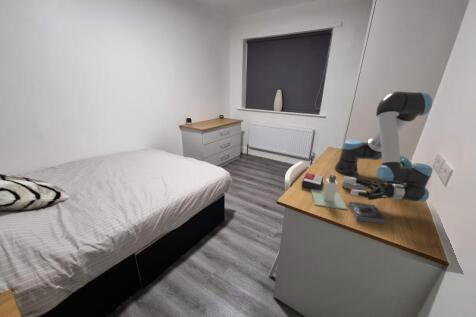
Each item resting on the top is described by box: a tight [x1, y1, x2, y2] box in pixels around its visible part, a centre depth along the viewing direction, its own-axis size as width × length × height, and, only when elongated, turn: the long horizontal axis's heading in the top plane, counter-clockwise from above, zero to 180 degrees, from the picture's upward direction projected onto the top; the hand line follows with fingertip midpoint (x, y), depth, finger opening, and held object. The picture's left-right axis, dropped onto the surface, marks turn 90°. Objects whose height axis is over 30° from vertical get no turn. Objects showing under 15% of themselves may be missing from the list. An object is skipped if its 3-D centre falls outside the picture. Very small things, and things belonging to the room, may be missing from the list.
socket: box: [348, 201, 386, 225], centre depth 99 cm, size 12×12×2 cm
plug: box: [322, 174, 339, 201], centre depth 109 cm, size 5×5×14 cm
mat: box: [310, 188, 348, 210], centre depth 111 cm, size 16×16×1 cm
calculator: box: [301, 172, 324, 190], centre depth 126 cm, size 11×4×15 cm
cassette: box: [341, 175, 366, 191], centre depth 121 cm, size 12×2×8 cm, turn 66°
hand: (346, 185), depth 106 cm, fingers open, 13 cm apart
